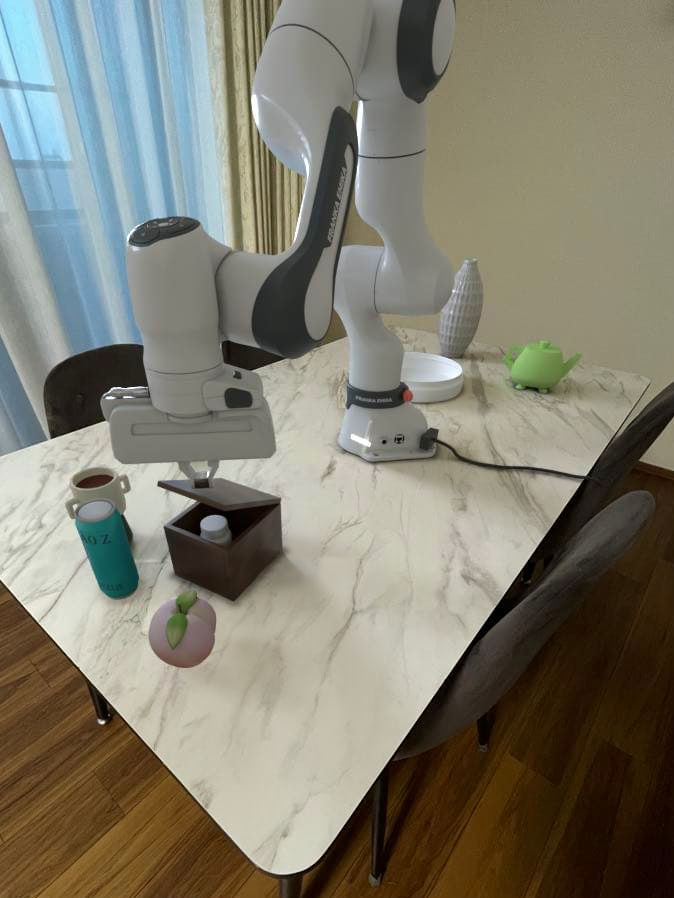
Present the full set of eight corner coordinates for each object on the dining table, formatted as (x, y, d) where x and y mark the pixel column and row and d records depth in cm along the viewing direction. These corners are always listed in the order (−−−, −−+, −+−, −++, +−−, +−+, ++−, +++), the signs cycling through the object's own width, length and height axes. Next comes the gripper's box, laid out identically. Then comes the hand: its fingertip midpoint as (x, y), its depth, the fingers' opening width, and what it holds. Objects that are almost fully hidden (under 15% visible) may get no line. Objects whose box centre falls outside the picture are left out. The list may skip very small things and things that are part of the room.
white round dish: (447, 368, 149) (450, 351, 146) (473, 402, 128) (478, 383, 125) (362, 368, 148) (364, 351, 145) (375, 403, 127) (377, 383, 124)
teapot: (569, 383, 140) (585, 339, 132) (569, 399, 131) (586, 353, 123) (499, 373, 146) (510, 330, 138) (494, 388, 136) (506, 343, 128)
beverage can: (107, 577, 74) (78, 497, 64) (144, 575, 74) (121, 496, 64) (97, 604, 69) (65, 523, 60) (137, 602, 70) (111, 521, 60)
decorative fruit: (162, 631, 65) (147, 579, 59) (222, 627, 66) (213, 575, 60) (151, 689, 58) (133, 638, 52) (218, 684, 59) (208, 633, 52)
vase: (434, 359, 155) (451, 262, 138) (432, 348, 165) (448, 255, 147) (473, 362, 154) (495, 264, 136) (469, 350, 164) (490, 257, 146)
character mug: (129, 520, 85) (110, 456, 77) (154, 535, 82) (137, 470, 74) (74, 550, 78) (47, 484, 70) (98, 568, 75) (73, 501, 67)
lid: (224, 511, 60) (225, 505, 60) (156, 486, 64) (157, 480, 64) (280, 503, 73) (281, 498, 72) (220, 482, 77) (221, 477, 77)
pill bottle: (239, 558, 76) (235, 516, 71) (227, 577, 73) (221, 535, 67) (213, 552, 77) (206, 510, 72) (199, 571, 74) (191, 529, 68)
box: (233, 602, 70) (227, 552, 63) (174, 575, 74) (163, 525, 68) (282, 551, 79) (281, 502, 73) (227, 529, 83) (221, 482, 77)
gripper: (89, 399, 52) (119, 503, 60) (275, 393, 53) (278, 495, 62) (102, 378, 56) (128, 477, 65) (272, 374, 58) (275, 471, 67)
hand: (203, 486), depth 64 cm, fingers closed
